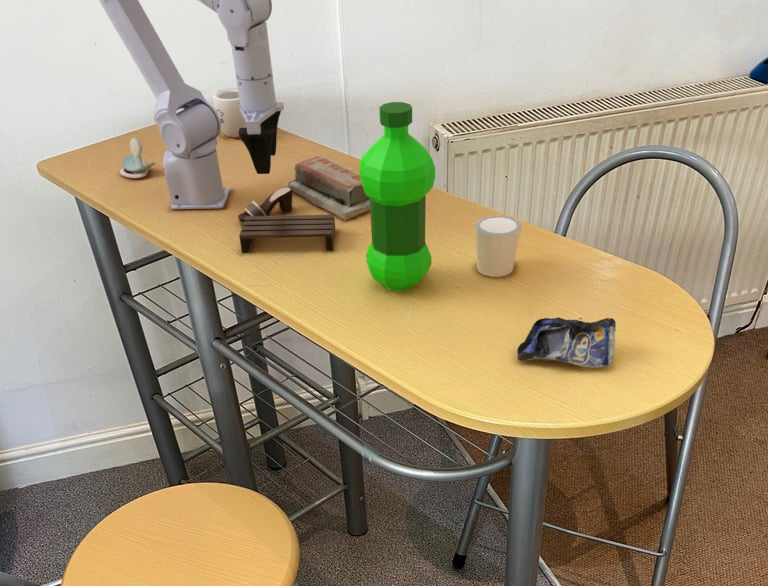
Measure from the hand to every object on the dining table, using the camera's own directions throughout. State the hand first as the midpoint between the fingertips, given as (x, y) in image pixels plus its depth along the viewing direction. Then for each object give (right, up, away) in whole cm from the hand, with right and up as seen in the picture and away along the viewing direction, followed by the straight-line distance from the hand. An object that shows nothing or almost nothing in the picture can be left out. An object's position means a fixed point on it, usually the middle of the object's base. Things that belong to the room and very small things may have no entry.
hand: (266, 163), depth 129 cm
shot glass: (+37, -21, -9) cm, 44 cm away
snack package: (+44, -38, -26) cm, 64 cm away
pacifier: (-29, +8, +21) cm, 37 cm away
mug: (-10, +21, +34) cm, 41 cm away
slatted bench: (+4, -14, -1) cm, 14 cm away
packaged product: (+11, -1, +11) cm, 16 cm away
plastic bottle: (+22, -24, -11) cm, 34 cm away
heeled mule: (-1, -7, +6) cm, 9 cm away
